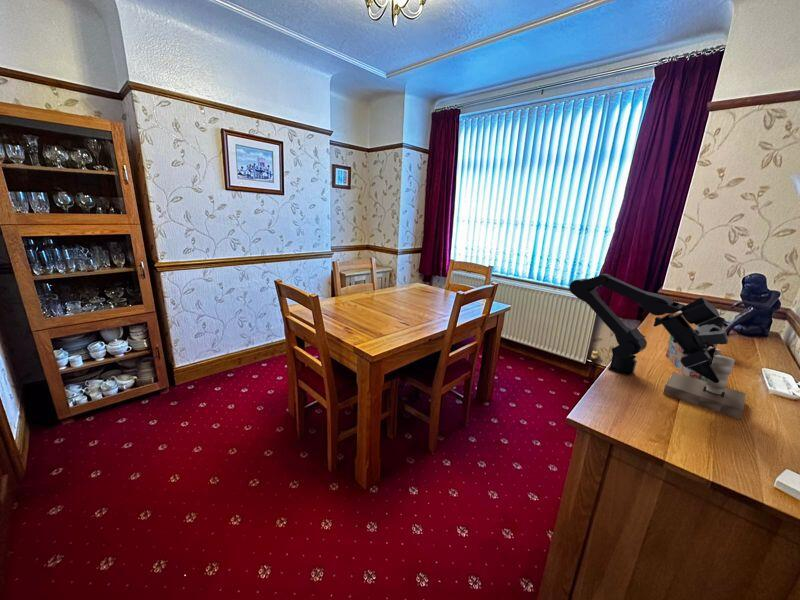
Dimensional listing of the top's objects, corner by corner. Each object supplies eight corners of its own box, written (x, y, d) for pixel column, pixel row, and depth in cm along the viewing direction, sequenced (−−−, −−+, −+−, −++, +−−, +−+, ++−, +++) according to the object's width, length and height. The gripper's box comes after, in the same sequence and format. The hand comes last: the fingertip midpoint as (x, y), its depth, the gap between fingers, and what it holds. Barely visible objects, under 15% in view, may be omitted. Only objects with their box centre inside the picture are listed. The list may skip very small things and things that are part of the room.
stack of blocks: (664, 356, 131) (672, 327, 128) (683, 359, 129) (692, 329, 125) (688, 379, 111) (698, 346, 108) (711, 383, 109) (721, 349, 106)
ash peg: (700, 399, 98) (713, 357, 95) (702, 395, 101) (715, 353, 98) (719, 406, 95) (734, 362, 92) (721, 401, 98) (735, 358, 95)
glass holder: (691, 351, 137) (701, 317, 133) (684, 341, 149) (693, 309, 145) (719, 356, 132) (730, 321, 129) (709, 345, 144) (719, 313, 140)
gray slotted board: (662, 393, 101) (665, 384, 100) (671, 380, 110) (673, 372, 109) (740, 419, 89) (743, 410, 88) (742, 402, 98) (745, 393, 97)
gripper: (707, 325, 89) (752, 377, 84) (714, 314, 102) (754, 358, 97) (664, 343, 97) (703, 391, 92) (676, 330, 109) (710, 372, 104)
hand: (719, 377), depth 96 cm, fingers open, 9 cm apart
